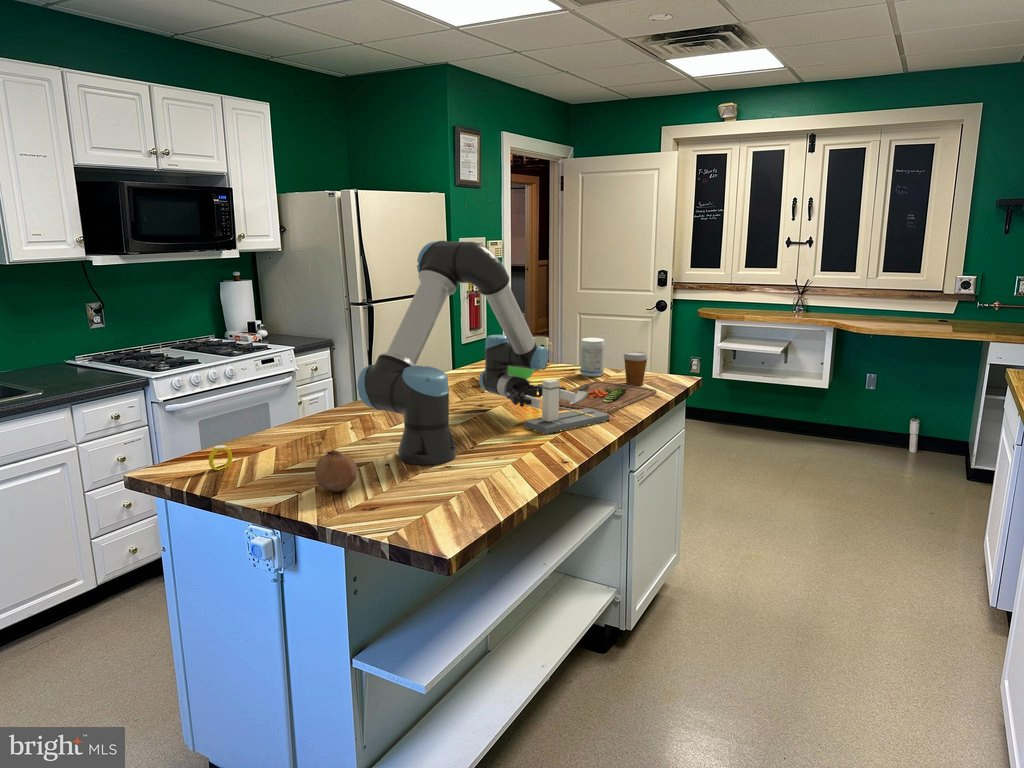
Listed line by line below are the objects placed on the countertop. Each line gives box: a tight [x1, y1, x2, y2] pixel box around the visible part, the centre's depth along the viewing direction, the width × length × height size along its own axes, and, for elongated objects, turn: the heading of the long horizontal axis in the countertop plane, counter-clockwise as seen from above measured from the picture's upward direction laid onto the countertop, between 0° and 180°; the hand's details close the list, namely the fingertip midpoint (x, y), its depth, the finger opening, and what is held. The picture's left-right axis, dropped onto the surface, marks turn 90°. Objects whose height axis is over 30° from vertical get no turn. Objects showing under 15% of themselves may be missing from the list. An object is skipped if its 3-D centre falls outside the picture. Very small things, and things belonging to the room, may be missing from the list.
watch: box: [208, 444, 233, 471], centre depth 177 cm, size 6×3×6 cm, turn 150°
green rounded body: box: [508, 366, 536, 380], centre depth 279 cm, size 18×17×15 cm
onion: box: [314, 449, 359, 493], centre depth 162 cm, size 10×9×10 cm
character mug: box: [533, 336, 554, 367], centre depth 305 cm, size 11×7×13 cm, turn 71°
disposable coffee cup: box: [622, 350, 649, 386], centre depth 275 cm, size 10×10×12 cm
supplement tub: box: [580, 337, 605, 378], centre depth 291 cm, size 10×10×15 cm
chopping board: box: [559, 380, 658, 414], centre depth 254 cm, size 45×27×3 cm, turn 145°
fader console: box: [523, 408, 610, 435], centre depth 220 cm, size 26×10×2 cm, turn 127°
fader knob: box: [541, 378, 560, 422], centre depth 214 cm, size 4×3×12 cm
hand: (557, 400), depth 212 cm, fingers open, 13 cm apart
